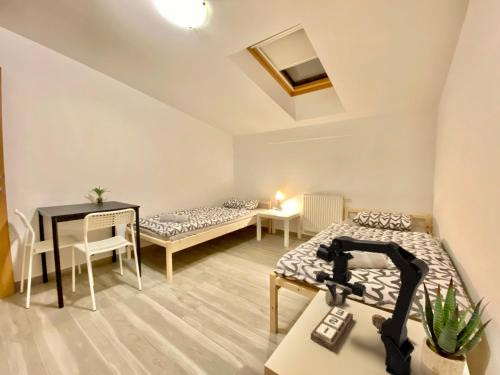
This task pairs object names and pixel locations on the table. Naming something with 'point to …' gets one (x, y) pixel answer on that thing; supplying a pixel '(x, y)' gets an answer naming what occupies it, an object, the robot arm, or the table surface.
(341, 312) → the tile
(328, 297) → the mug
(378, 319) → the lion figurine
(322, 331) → the tile
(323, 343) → the tile rack
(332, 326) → the tile
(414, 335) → the table surface
